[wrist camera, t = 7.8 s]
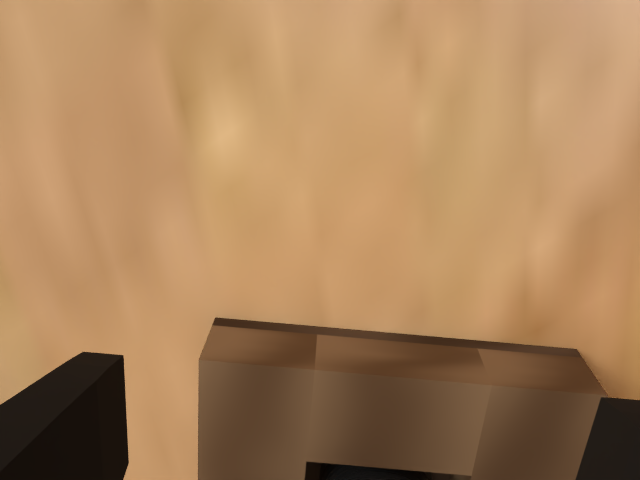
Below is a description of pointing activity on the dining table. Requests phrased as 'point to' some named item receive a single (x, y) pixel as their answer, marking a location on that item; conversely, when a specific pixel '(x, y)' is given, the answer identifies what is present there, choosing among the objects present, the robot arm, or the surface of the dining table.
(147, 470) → the dining table surface
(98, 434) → the robot arm
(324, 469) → the pin
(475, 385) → the socket block
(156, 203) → the dining table surface
